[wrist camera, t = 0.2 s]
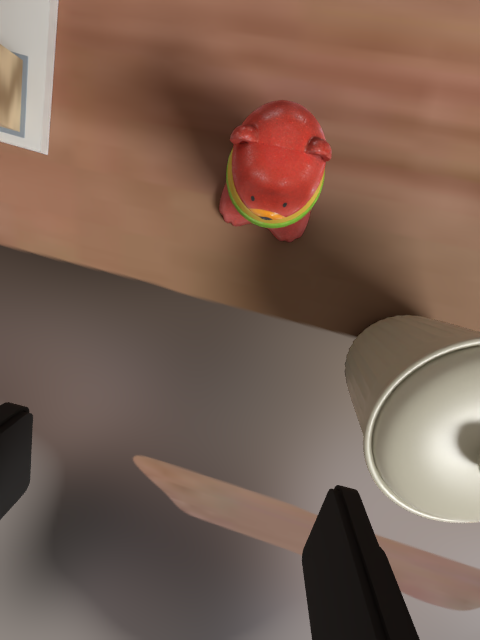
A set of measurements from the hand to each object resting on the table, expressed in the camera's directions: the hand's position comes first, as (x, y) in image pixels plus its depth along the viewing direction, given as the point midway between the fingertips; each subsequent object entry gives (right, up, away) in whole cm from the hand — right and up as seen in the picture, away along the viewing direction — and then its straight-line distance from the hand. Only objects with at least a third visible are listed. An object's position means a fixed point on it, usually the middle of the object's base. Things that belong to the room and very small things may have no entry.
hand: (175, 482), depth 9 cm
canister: (+23, 0, +31) cm, 39 cm away
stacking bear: (+6, +20, +26) cm, 34 cm away
